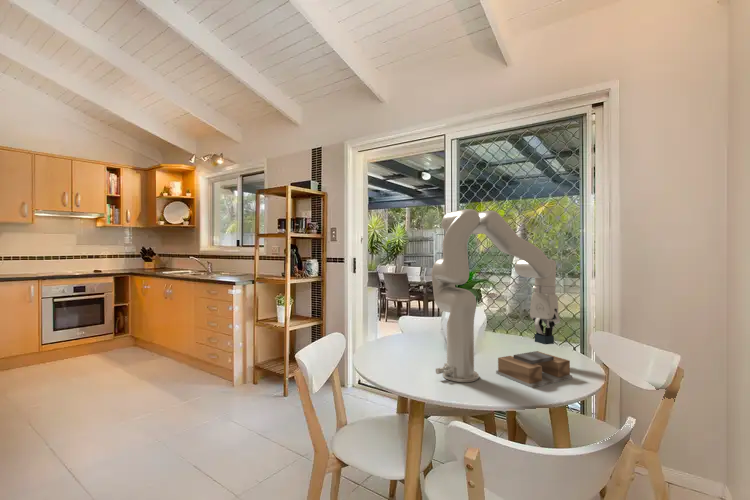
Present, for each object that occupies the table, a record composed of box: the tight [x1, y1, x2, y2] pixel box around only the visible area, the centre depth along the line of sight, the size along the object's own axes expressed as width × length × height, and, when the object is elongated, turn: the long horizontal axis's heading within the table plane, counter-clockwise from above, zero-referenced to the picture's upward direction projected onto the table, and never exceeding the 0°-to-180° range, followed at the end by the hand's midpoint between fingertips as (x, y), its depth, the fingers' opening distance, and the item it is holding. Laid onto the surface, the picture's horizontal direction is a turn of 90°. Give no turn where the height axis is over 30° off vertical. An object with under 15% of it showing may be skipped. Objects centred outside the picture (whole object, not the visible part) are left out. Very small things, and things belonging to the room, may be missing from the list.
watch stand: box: [495, 350, 573, 389], centre depth 133 cm, size 20×16×7 cm
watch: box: [533, 318, 555, 345], centre depth 148 cm, size 6×8×11 cm
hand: (544, 336), depth 147 cm, fingers closed on watch, 3 cm apart
